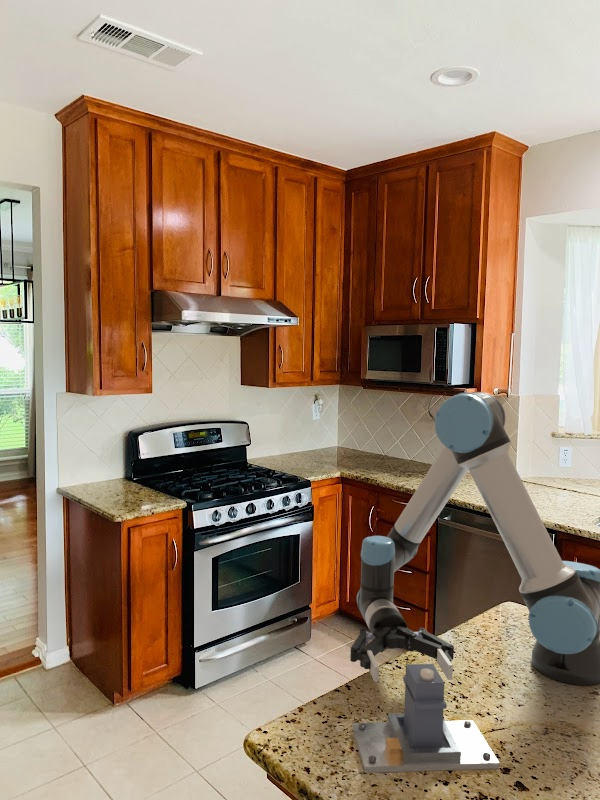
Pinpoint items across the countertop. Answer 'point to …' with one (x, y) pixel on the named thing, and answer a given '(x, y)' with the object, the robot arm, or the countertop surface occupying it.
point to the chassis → (392, 752)
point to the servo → (423, 706)
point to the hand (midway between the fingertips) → (413, 673)
